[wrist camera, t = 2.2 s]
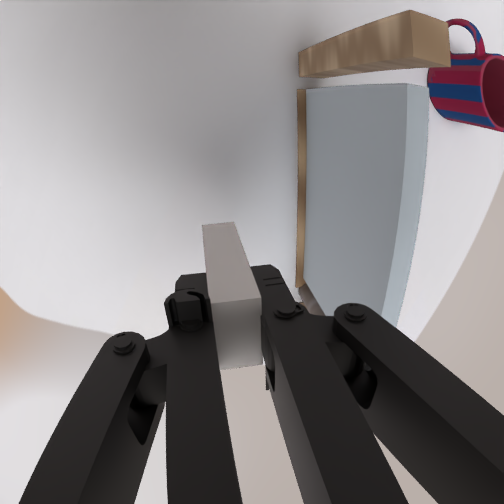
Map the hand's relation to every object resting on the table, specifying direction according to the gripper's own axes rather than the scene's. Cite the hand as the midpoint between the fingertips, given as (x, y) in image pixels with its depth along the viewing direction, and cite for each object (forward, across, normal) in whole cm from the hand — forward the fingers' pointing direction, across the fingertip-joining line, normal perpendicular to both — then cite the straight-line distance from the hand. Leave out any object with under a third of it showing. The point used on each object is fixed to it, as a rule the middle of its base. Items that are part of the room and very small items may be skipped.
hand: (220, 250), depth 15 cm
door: (+10, +9, 0) cm, 13 cm away
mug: (+10, +22, +12) cm, 27 cm away
